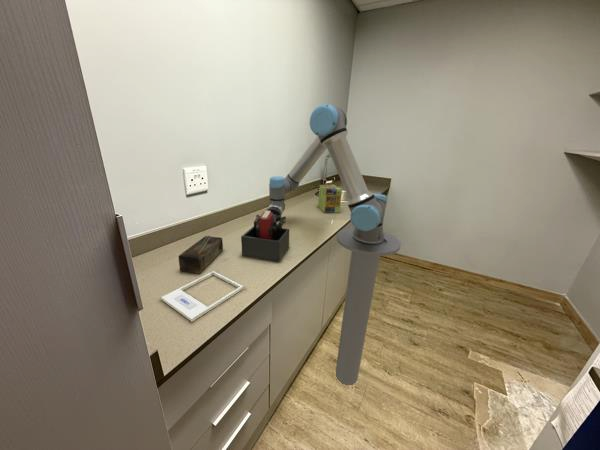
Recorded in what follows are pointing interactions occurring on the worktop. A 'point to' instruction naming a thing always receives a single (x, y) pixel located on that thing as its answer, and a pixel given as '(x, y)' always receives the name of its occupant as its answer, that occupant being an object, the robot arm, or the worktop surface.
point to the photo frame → (192, 306)
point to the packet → (265, 225)
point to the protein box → (329, 198)
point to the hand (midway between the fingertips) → (263, 232)
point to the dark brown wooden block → (200, 254)
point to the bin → (265, 245)
